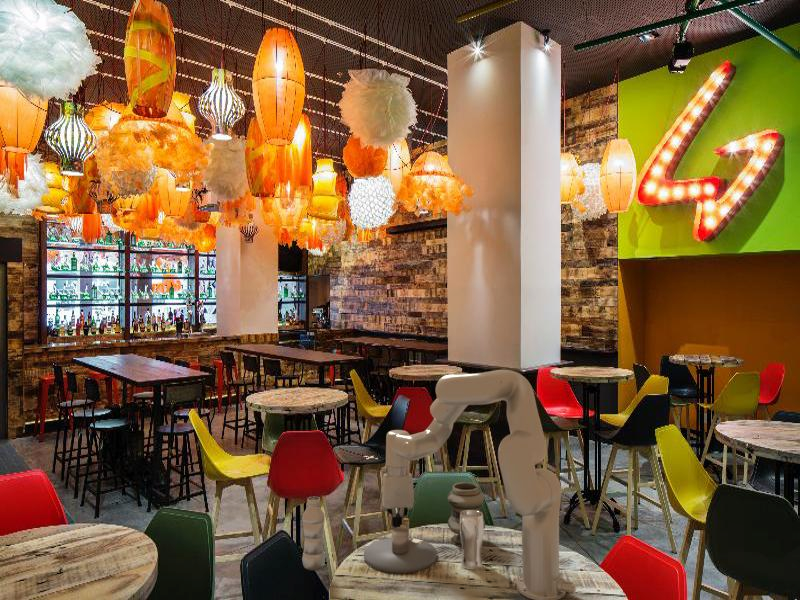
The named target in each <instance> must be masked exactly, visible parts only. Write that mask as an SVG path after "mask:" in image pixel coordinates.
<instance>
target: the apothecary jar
mask: <svg viewBox="0 0 800 600" xmlns="http://www.w3.org/2000/svg"><path fill="white" fill-rule="evenodd" d="M447 501H448V503H449V504H450V505H451V508H450V509H451V511H450V512H451V515H450V517H449V519H448V520H447V526H448V528H449V530H450V531H451V532H452V533H454V534H456V535H454V536H453V537H451V539H450V541H451V543H452V545H454V546H458V547H460V548H462V543H461V537H460V513H461V512H462V511H464V510H477V511H480V512H482V508H481V506H482V505H483V504H484V503H485V496H484V494H483V493H482V492H481V490H480V487H479V484H477V483H474V482H468V481H467V482H465V481H463V482H456V483H454V484H453V485H452V488H451V491H450V492H449V493H448V494H447ZM483 524H484V529H485V528H486V522H485V520H484V519H483Z"/></svg>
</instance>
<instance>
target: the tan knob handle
mask: <svg viewBox="0 0 800 600" xmlns="http://www.w3.org/2000/svg"><path fill="white" fill-rule="evenodd" d="M391 538H392V552H393V553H395V554H405V553H407V552H408V551H409V544H408V538H410V518H408V517H404V518H402V524H401V525H400V527H396V528H394V527H392V529H391Z"/></svg>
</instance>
